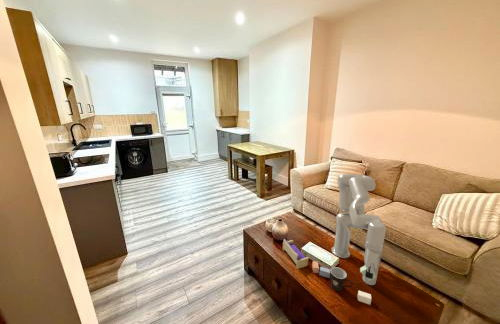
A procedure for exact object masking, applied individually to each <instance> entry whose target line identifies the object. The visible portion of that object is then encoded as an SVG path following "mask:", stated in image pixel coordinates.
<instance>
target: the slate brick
mask: <svg viewBox="0 0 500 324" xmlns="http://www.w3.org/2000/svg"><path fill="white" fill-rule="evenodd" d="M318 274H319V276H321V277H323V278H328V279H330V278H331V268H330V269H329V268H326V267H324V266H320V267H319V273H318Z"/></svg>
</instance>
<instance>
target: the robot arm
mask: <svg viewBox="0 0 500 324" xmlns="http://www.w3.org/2000/svg"><path fill="white" fill-rule="evenodd" d="M337 186H338V189H339V193H338V195H339V198H338V199H339V201H338V207H339V210H340V211H342V212H339V213H338V214H337V215H336V216H335V217H336V226H335V227H336V228H335V238H334V245H333V246H332V247H331V252H332V254H333V255H335V257H337V256H338V258H340V259H341V258H342V259H348V258H350V256H351V252H350V251H349V247H350V241H351V230H350V229H349V228H355V229H359V230H361V229H363V230H367V232H366V237H365V243H364V246H365V250H364V256H363V260H364V266H365V267H366V268H367V270H366V275H365V277H367V278H370V279H372V278H373V272H374V270H376V268H377V263H378V257H379V252H382V253H383V247H384V242H385V236H386V231H387V227H386V225H385V224H384V223H383V222H382V219H381V218H380V217H379V215H375V214H366V213H365V204H367V203H368V202H370V200H371V196H370V194H369V192H370V191H374V190H375V189H376V187H377V185H376V182H375V179H374V178H372V177H371V176H368V175H365V174H349V173H343V174H340V175H339V176H337ZM369 268H370V269H369Z"/></svg>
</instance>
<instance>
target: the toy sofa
mask: <svg viewBox="0 0 500 324" xmlns="http://www.w3.org/2000/svg"><path fill="white" fill-rule="evenodd" d="M282 251H284V252H286V253H287V255H288V256H289V257H290V258H291V259H292V261H293V262H294V263H295V266H296V267H295V268H296V269H297V270H299V269H302V268H304V267H307V266H309V259H310V258H309V256H305V255H304V254H303V253H302V252H301V251H300V250H299V249H298V247H297V246H296V245H295V244H294V240H293V239H292V240H286V239H285V238H284V239H283V242H282Z"/></svg>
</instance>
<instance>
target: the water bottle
mask: <svg viewBox="0 0 500 324" xmlns="http://www.w3.org/2000/svg"><path fill="white" fill-rule="evenodd" d="M382 253H383V251H382V252H379V257H378V263H377V268H376V270H374V273H375V276H376V278H375V279H373V280H371V281H369V280H368V279H367V278H366V277H365V276H364V275H363V274H362V281H363V282H364V284H366V285H368V286H369V285H370V286H374V285H376V284H377V283H376V282H377V279H378V273H379V267H380V265H381V264H380V263H381V258H382V257H383V254H382Z"/></svg>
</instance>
